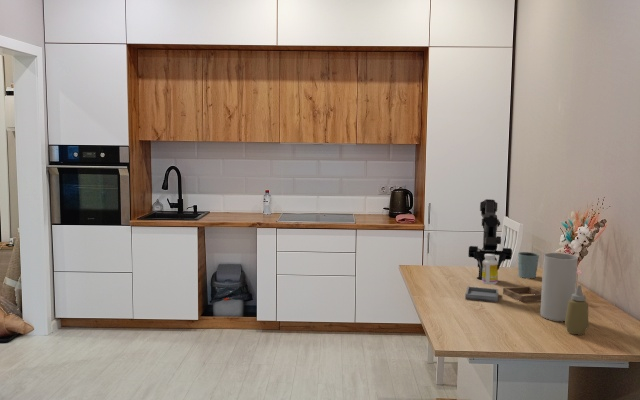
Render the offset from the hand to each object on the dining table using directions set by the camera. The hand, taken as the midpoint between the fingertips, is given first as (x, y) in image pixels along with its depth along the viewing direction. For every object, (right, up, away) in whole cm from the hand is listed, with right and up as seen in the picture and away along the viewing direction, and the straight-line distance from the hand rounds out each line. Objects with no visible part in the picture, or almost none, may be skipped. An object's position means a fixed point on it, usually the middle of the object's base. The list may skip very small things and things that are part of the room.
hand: (489, 268), depth 261 cm
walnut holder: (+17, -13, +4) cm, 22 cm away
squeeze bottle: (+19, -19, -43) cm, 51 cm away
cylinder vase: (+20, -17, -25) cm, 36 cm away
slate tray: (-3, -13, +3) cm, 14 cm away
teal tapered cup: (+31, -9, +42) cm, 53 cm away
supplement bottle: (+1, -7, +2) cm, 7 cm away
